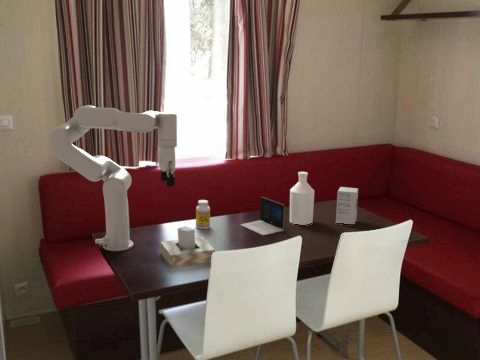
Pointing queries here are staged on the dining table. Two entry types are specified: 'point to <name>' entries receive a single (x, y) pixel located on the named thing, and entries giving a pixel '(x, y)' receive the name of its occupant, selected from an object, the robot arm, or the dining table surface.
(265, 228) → the laptop
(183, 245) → the skincare box
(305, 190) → the bottle
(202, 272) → the dining table surface
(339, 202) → the supplement box
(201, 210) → the supplement bottle
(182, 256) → the wooden frame
